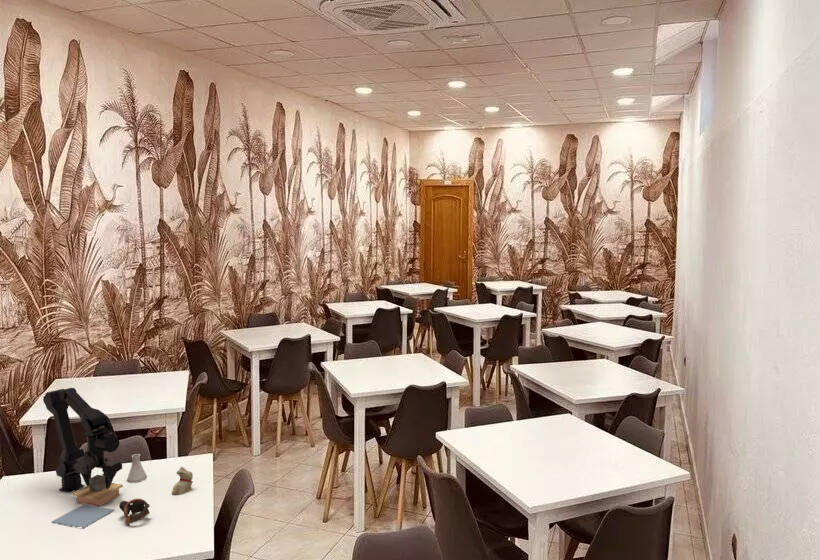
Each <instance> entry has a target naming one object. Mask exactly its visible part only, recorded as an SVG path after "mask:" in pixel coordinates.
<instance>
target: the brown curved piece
mask: <svg viewBox="0 0 820 560" xmlns="http://www.w3.org/2000/svg"><path fill="white" fill-rule="evenodd" d="M118 507H119V509H120V510H121V511H122V512H123V516H124V518H125V521H124V523H125V525H127V526H130V524H133V523H136V522H140V521H141V520H142V519H145V517H146V516H147V515H148V514H150V513H151V512H150V510H149V508H150V507H151V505H150V503H148V502H147V501H146V500H145V499H143V498H133V499H131V500H129V501H127V500H121V501H120V502H119V504H118ZM130 513H131V514H130Z"/></svg>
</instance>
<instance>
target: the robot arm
mask: <svg viewBox="0 0 820 560" xmlns="http://www.w3.org/2000/svg"><path fill="white" fill-rule="evenodd" d="M42 399H43V403H44V405H45V407H46V410H47V411H48V412H49V413H51V414H52V416H53V420H54V423H55V428H56V431H57V434H58V439H59V443H60V446H61V449H62V450H61V454H60V457H59V463H60V464H59V465H58V466H57V468H56V469H55V475H56V476H57V477H59V478H61V487H59V488H58V491H61V492H65V493H74V492H76V491H78V490H80V489H82V488H84V487H85V486H89V479H90V478H92V471H93V470H94V469H95V468H97V469H101V471H102V472H103V473H101V475H103V476H105V483H106V489H109V488H110V485H111V483H113V480H114V477H116V475H117V473H118V472H119V471H121V470H122V469H123V462H121V461H117V460H112V461H108V460H109V459H108V457H106V452H107V453H113V452H115V451H117V449H118V448H119V446H120V440H119V438H118V437H117V436H115V432H112V431H113V429H112V425H111V422H110V421H109V419H108V417H107V415H106V414H105V413H104V412H103V411H101V410H100V409H97V408H93V407H92V406H91V405H89V403H87V401H86V400H84V398H83V397H82V396H81V395H80V394H79V393H78V392H77V390H76V388H75V387H69V388H65V389H64V388H60V389H56V390H51V391H47V392H46V393H45V394H44V396H43V398H42ZM69 407H70V408H71V410H72V411H73V412H75V413H76V415H77V416H79V418H80V424H81V426H82V427H83V429H84V430H85V431H84V432H83V434H84V435H86V442H87V443H86V446H87V450H83V448H81V449H80V447H78V446H77V443H76V440H75V435H74V432H73V431H74V430H73V428H72V424H71V421H70V420H71V419H70V416H69V412H68V409H69ZM106 462H108V463H106ZM82 479H83V482H84V483H85V484H83V483H82Z"/></svg>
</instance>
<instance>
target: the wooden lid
mask: <svg viewBox="0 0 820 560" xmlns="http://www.w3.org/2000/svg"><path fill="white" fill-rule="evenodd" d="M123 487H124V485H123V484H122V483H115V482H112V483H111V485H110V488H109V489H106V483H105V476H103V475H102V474H96V475H94V476H91V478H90V479H89V486H87V485H85V486H83V487H81V488H79V489H77V490H75V491H73V492H71V493H72V496H74V497H77V496H78V497H84V498H90V499H96V500H99V499H101V498H103V497H105V496H107V495H109V494H110V493H112V492H114V491H116V490H118V489H119V490H120V489H121V488H123Z"/></svg>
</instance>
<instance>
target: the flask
mask: <svg viewBox="0 0 820 560" xmlns="http://www.w3.org/2000/svg"><path fill="white" fill-rule="evenodd" d="M131 458H132V461H131V466H130V469H129V473H128V475H127V479H126V481H127V482H129V483H140V482H142V481H144V480H146V479H147V477H148V476H147V473H146V471H145V470H144V467H143V465H142V462H141V459H140V458H141V454H140V453H135V454H132V455H131Z"/></svg>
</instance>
